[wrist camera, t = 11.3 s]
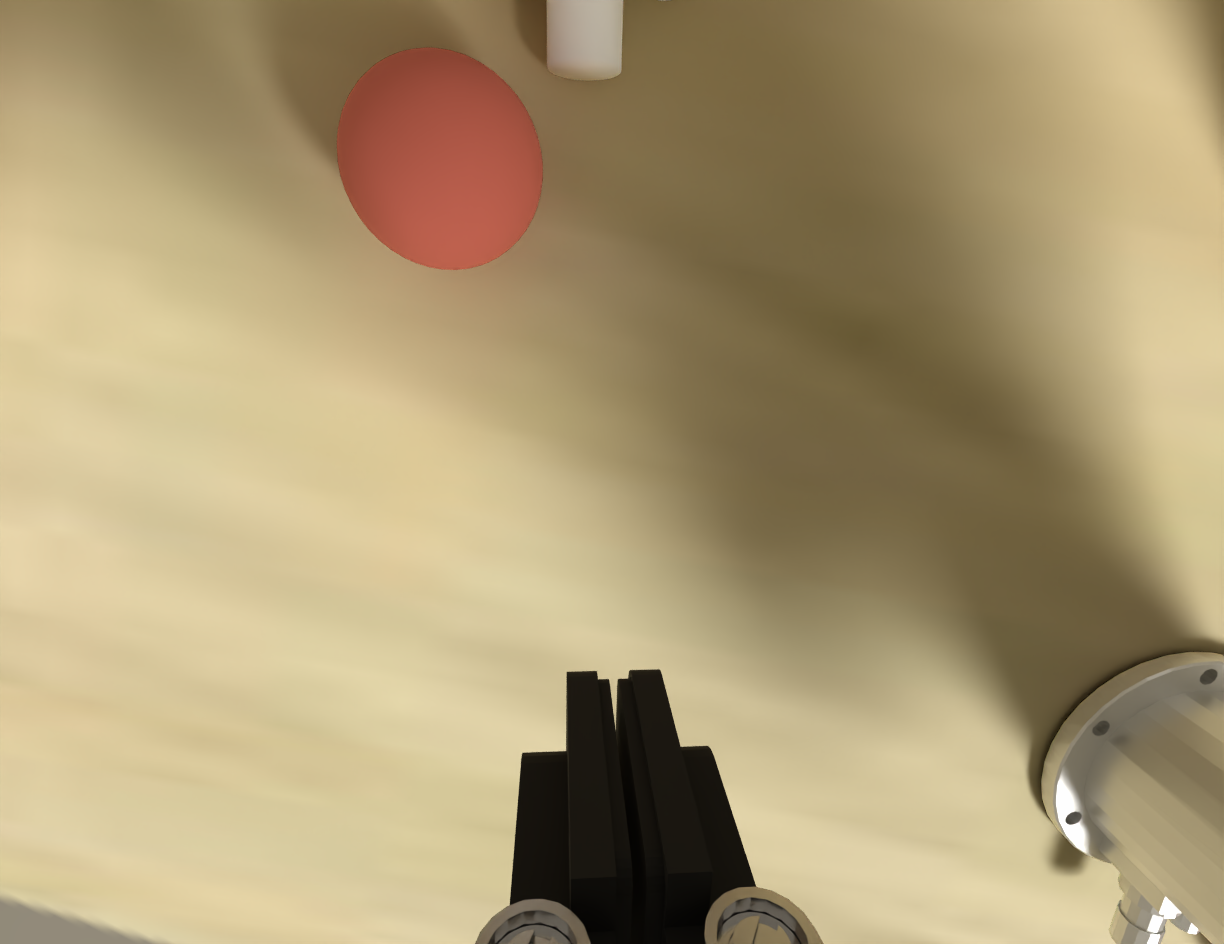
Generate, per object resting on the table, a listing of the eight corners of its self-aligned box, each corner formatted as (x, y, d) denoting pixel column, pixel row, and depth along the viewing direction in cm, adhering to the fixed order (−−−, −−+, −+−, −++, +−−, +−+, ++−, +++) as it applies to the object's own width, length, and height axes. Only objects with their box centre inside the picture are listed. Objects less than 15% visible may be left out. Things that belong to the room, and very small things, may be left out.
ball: (523, -9, 17) (611, 201, 19) (435, 100, 22) (512, 262, 24) (328, 4, 14) (455, 259, 16) (273, 130, 19) (375, 316, 20)
